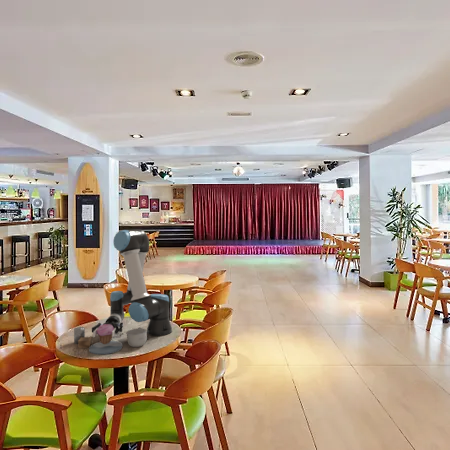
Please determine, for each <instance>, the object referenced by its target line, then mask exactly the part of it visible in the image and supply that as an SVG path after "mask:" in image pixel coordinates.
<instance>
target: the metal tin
mask: <svg viewBox="0 0 450 450" xmlns="http://www.w3.org/2000/svg"><path fill="white" fill-rule="evenodd" d="M85 330H86V329H85V326H77V327H74V328H73V344H74V345H78V341H79V339H80V338H81V337H86V336H85V335H86V332H85Z"/></svg>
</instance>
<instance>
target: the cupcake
mask: <svg viewBox="0 0 450 450" xmlns="http://www.w3.org/2000/svg"><path fill="white" fill-rule="evenodd" d="M102 324H103V325H100V326H99V328H98V329H97V335H98V340H99V342H101V343H103V344H107V343H110V341H113V340H112V339H113V337H112V331H113V330H114V327H113V326H112V325H111V324H104V323H102Z"/></svg>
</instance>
